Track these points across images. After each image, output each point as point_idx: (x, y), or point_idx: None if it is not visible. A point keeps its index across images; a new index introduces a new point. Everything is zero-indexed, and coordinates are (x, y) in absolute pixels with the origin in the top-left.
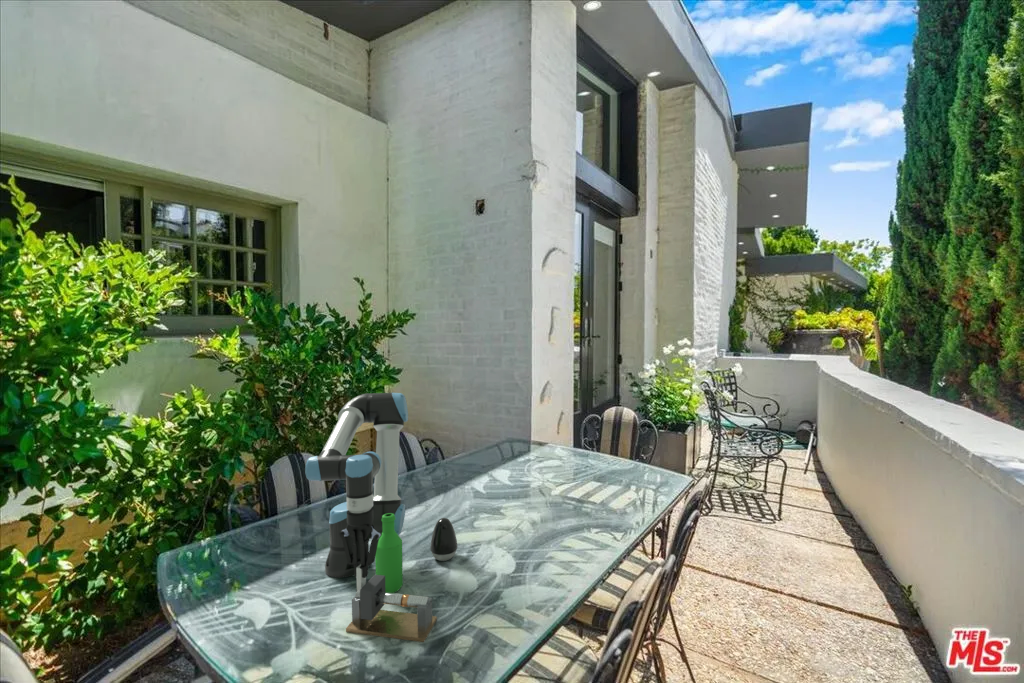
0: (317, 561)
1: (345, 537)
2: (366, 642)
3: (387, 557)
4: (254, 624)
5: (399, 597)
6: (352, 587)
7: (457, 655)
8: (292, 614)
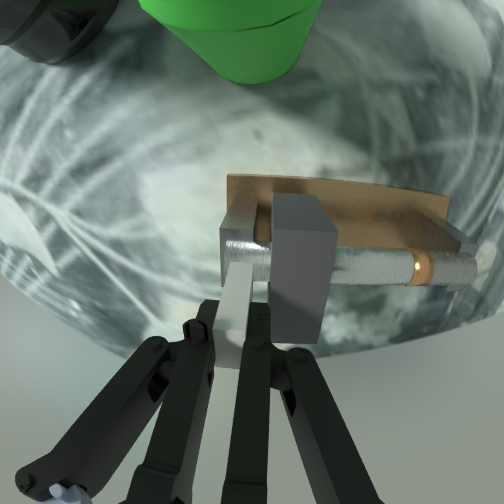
0: None
1: (92, 495)
2: None
3: (267, 45)
4: (43, 265)
5: (402, 283)
6: (126, 74)
7: (472, 292)
8: (68, 225)
